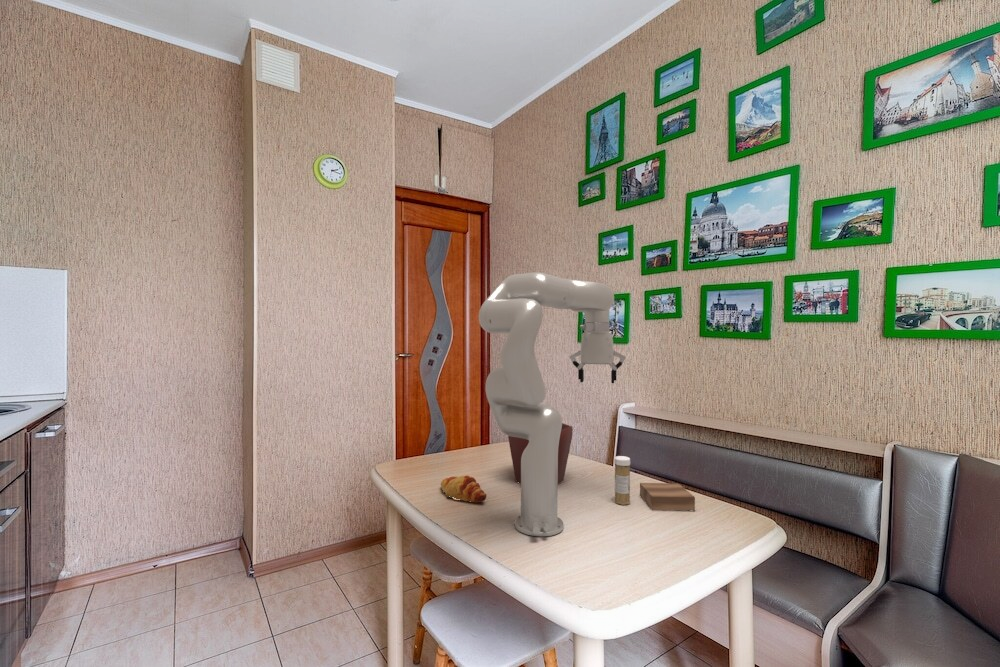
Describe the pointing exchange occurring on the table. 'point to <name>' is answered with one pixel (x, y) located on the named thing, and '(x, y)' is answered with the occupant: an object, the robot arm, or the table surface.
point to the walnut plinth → (666, 496)
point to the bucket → (563, 451)
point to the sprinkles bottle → (622, 480)
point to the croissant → (463, 488)
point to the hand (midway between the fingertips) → (597, 382)
